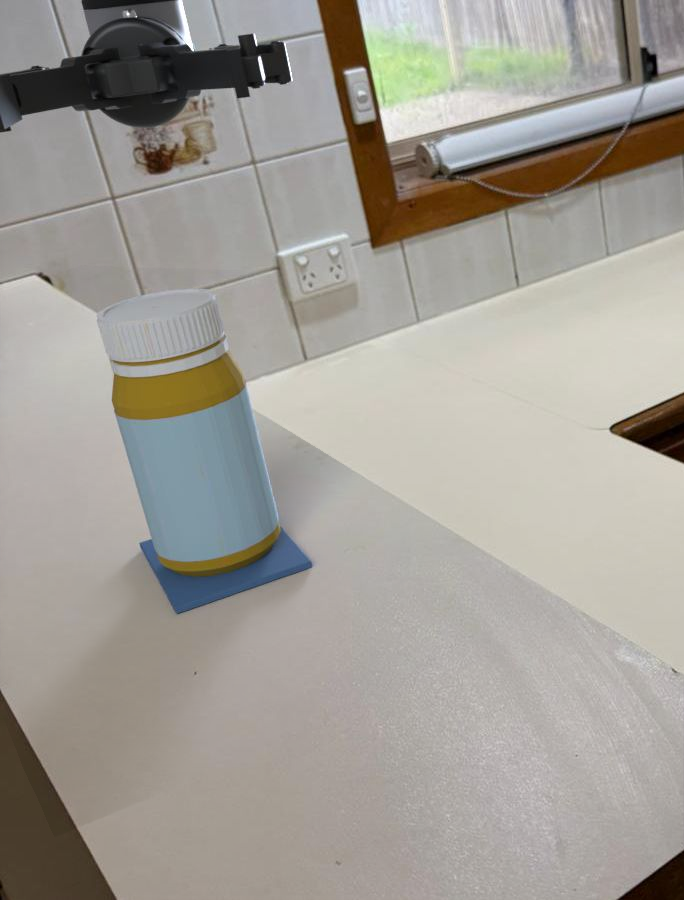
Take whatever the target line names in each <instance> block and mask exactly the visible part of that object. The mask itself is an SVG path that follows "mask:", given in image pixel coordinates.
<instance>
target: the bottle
mask: <svg viewBox="0 0 684 900" xmlns="http://www.w3.org/2000/svg"><path fill="white" fill-rule="evenodd" d="M96 323H97V326H98V330H99V334H100V338H101V341H102V344H103V347H104V350H105V354H106V355H107V356H108V361H109V364H110V369H111V371H112V373H113V379H112V390H111V391H112V392H111V403H112V407H113V411H114V415H115V419H116V422H117V426H118V428H119V432H120V436H121V439H122V442H123V446H124V449H125V452H126V456H127V459H128V460H127V461H128V463H129V466H130V469H131V474H132V476H133V477H132V478H133V479H134V483H135V487H136V490H137V493H138V497H139V500H140V504H141V508H142V511H143V514H144V518H145V521H146V524H147V527H148V531H149V535H150V539H152V541H153V545H154V548H155V551H156V553H157V556H158V560H159V561H160V563H161V564H162V565H163V566H165V567H166V568H168V569H170V570H172V571H174V572H175V573H178V574H181V575H183V576H192V577H203V576H214V575H218V574H223V573H228V572H232V571H234V570H237V569H239V568H242V567H245V566H248V565H249V564H251V563H253V562H255V561H257V560H259V559H260V558H262V557H263V556H264V555H265V554H266V553H268V552H269V551H270V550H271V548H272V546H273V545H274V543H275V541H276V539H277V538H278V536H279V534H280V526H281V524H280V520H279V513H278V509H277V504H276V501H275V497H274V493H273V489H272V485H271V484H272V483H271V480H270V476H269V472H268V468H267V463H266V459H265V455H264V451H263V446H262V443H261V439H260V434H259V431H258V427H257V422H256V418H255V414H254V410H253V406H252V401H251V398H250V394H249V389H248V385H247V381H246V380H245V376H244V371H243V369H242V368H241V366H240V365H239V363H238V362H237V361H236V359H235V357H234V356H233V355H232V353H231V351H230V350H229V347H230V346H229V342H228V338H227V336H226V335H225V325H224V321H223V316H222V313H221V308H220V304H219V300H218V297H217V295H216V294H215V292H214V291H212V290H211V289H206V288H198V287H197V288H195V287H194V288H193V287H192V288H177V289H170V290H162V291H156V292H151V293H147V294H142V295H137V296H133V297H130V298H127V299H124V300H120V301H117V302H115V303H113V304H111V305H108V306H106V307H104V308H103V309H101V310H100V311H99V312H98V313H97V314H96Z"/></svg>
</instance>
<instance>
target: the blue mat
mask: <svg viewBox="0 0 684 900" xmlns="http://www.w3.org/2000/svg"><path fill="white" fill-rule="evenodd" d="M139 547H140V550H141V552H142V553H143V556H144V557H145V559H146V560H147V563H148V564H149V566H150V568H151V571H152V572H153V574H154V575H155V578H156V579H157V581H158V583H159V584H160V587H161V588H162V590H163V592H164V594H165V596H166V598H167V599H168V601H169V603H170V605H171V606H172V609H173V610H174V612H175V614H176V615H178V614H181V613H184V612H186V611H190V610H193V609H195V608H198V607H201V606H205V605H206V604H209V603H213V602H215V601H216V602H217V601H219V600H221V599H224V598H227V597H229V596H234V595H235V594H238V593H241V592H244V591H247V590H249V589H253V588H256V587H259V586H261V585H264V584H267V583H271V582H273V581H275V580H279V579H281V578H285V577H287V576H291V575H294V574H296V573H298V572H302V571H305V570H308V569H310V568H313V565H312V561H311V559H309V557H308V556H307V555H306V554H305V553H304V552H303V551H302V549H301V548H300V547H299V546H298V544H297V543H296V542H295V541H294V540H293V539H292V538H291V536H290V535H289V534H288V533H287V532H286V530H285V529H284V528H283V527H282V526H281V525H280V534H279V536H278V538H277V539H276V541H275V543H274V545H273V546H272V548H271V550H270V551H269V552H268V553H266V554H265V555H264V556H263V557H262V558H260V559H259V560H257V561H255V562H253V563H251V564H249V565H248V566H245V567H242V568H239V569H237V570H234V571H232V572H228V573H223V574H218V575H214V576H203V577H192V576H183V575H181V574H178V573H175V572H174V571H172V570H170V569H168V568H166V567H165V566H163V565H162V564H161V563H160V561H159V560H158V556H157V553H156V551H155V548H154V545H153V541H152V538H150V539H147V540H143V541H141V542H139Z"/></svg>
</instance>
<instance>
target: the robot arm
mask: <svg viewBox="0 0 684 900" xmlns="http://www.w3.org/2000/svg"><path fill="white" fill-rule="evenodd" d="M80 2H81V5H82V10H83V13H84V19H85V21H86V25H87V29H88V30H87V31H88V33H89V37H88V39H87V40H86V42H85V44H84V45H83V48H82V52H81V55H77V56H71V57H65V58H63V59H62V60H60V61H61V62H60V66H58V67H52V68H49V67H46V66H40V65H32V66H30V68H26V69H21V70H18V71H12V72H11V71H10V72H5V73H0V133H7V132H8V133H9V132H12V126H13V125H15V124H17V123H19V122H20V121H22V120H23V116H28V115H32V114H37V113H43V112H48V111H54V110H59V109H65V108H70V107H72V108H73V110H74V111H76V112H88V111H89V112H90V111H96V110H100V112H102V113H103V114H104V115H105V116H106V117H108V118H110V119H111V120H113V121H114V122H116V123H119V124H121V125H124V126H127V127H132V128H139V129H140V128H141V129H147V128H155V127H159V126H163V125H165V124H167V123H169V122H171V121H172V120H174V119H175V118H177V116H179V115H180V114H181V113H182V111H183V110H184V109H185V107H187V104H188V103H189V101H190V99H191V98H195V97H199V96H200V95H201V93H202V91H204V90H223V89H234V90H235V95H236V99H245V98H251V95H250V90H249V88H251V89H252V90H255V89H260V88H261V87H264V86H265V85H266V84H279V86H282V85H283V86H284V85H288V83H291V82H293V76H292V72H291V71H292V70H291V66H290V62H289V57H288V51H287V46H286V42H284V41H280V40H272V41H270V42H269V43H268V42H267V43H257V39H256V34H255V33H247V34H239V35H237V40H238V44H237V45H234V44H227V43H220V44H218V45H217V46H214V47H209V48H208V49H201V50H196V48H195V45H194V43H193V42H192V38H191V35H190V30H189V25H188V22H187V17H186V13H185V8H184V5H183V0H81V1H80Z"/></svg>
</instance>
